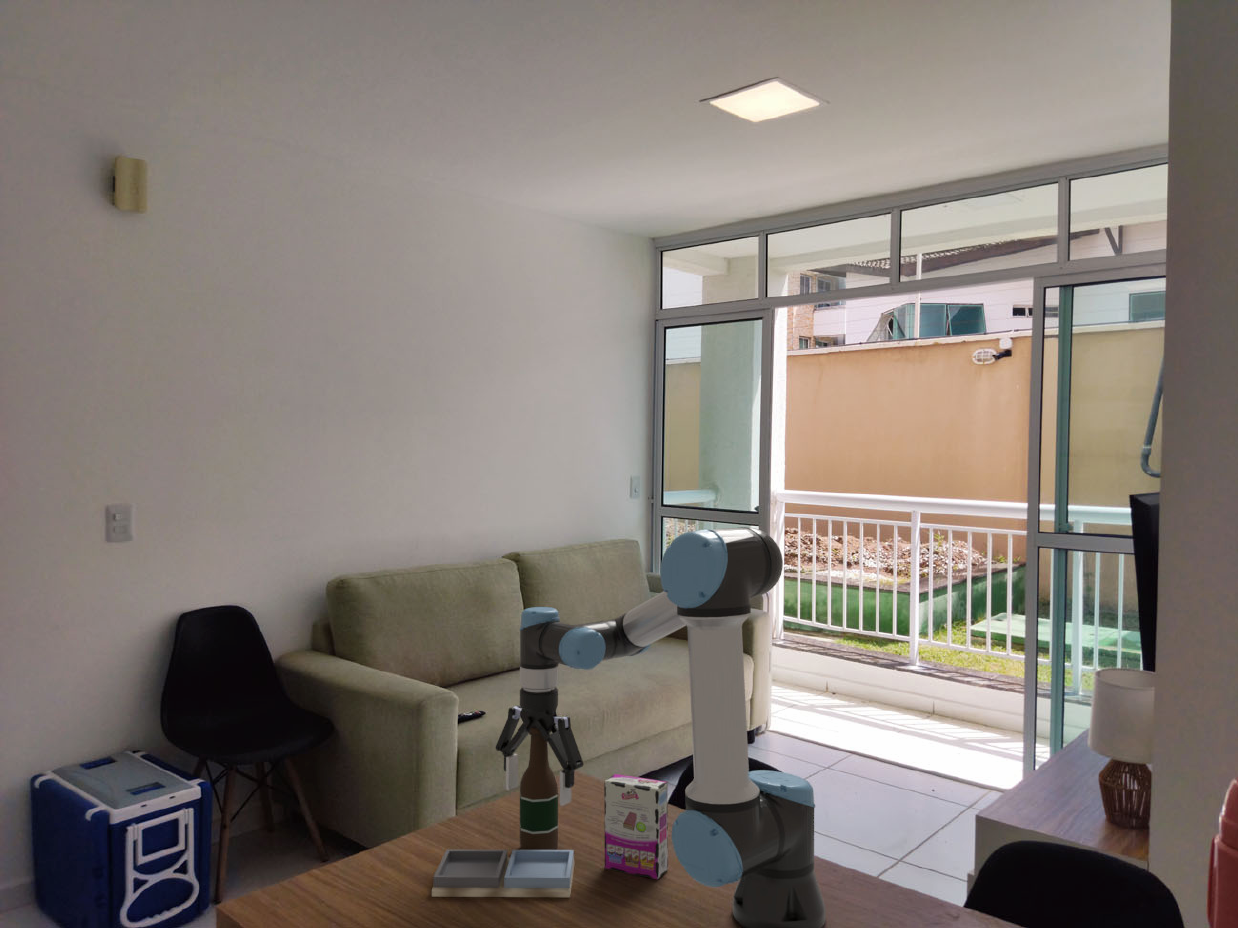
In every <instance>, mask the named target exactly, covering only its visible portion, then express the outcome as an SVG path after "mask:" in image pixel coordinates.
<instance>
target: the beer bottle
mask: <svg viewBox="0 0 1238 928" xmlns="http://www.w3.org/2000/svg"><path fill="white" fill-rule="evenodd" d="M530 733H531V735H530V744H529V745H530V746H529V747H530V748H529V758H528V759H529V760H528V766H527V768H525V771H524V772H523V774H522V777H521V778H520V779H521V780H520V785H519V845H520V850H558V846H559V845H558V843H559V840H558V839H559V790H558V789H559V788H558V782H557V780H556V777H555V774H554V771H553V770H552V768H551V767H550V762H549V751H548V750H549V749H548V742H547V741H545V739H544V737H540V734H541V732H540V730H538V729H537V728H535V727H531V729H530Z"/></svg>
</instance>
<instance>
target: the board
mask: <svg viewBox="0 0 1238 928" xmlns="http://www.w3.org/2000/svg"><path fill="white" fill-rule="evenodd" d="M510 857H511V856H510ZM510 857H509V856H507V862H506V865H505V869H504V872H503V875H502V878H501V882H500V885H499V888H433V887H432V889H431V897H432V898H433V897H435V898H436V897H439V898H442V897H444V898H446V897H447V898H450V897H451V898H455V897H456V898H463V897H465V898H571V893H572V892H571V891H572V885H573V877H574V870H575V869H574V868H575V859H574V860H573V867H572V875H571V882H570V888H504V877H505V874H506V870H507V867H508V864H509V860H510Z"/></svg>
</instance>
